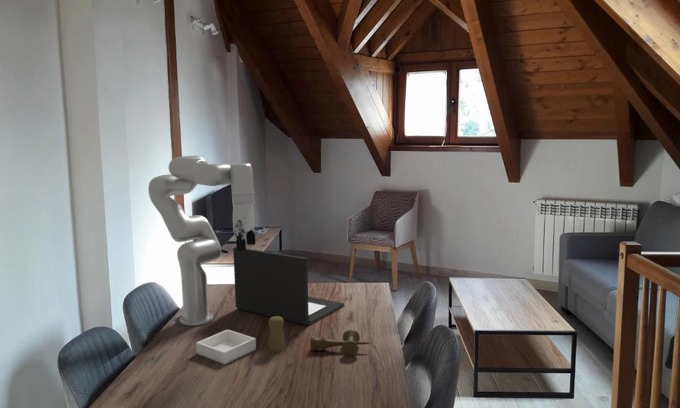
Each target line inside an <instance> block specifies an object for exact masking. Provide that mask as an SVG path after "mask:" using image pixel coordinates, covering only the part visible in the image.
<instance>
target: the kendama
mask: <svg viewBox="0 0 680 408" xmlns="http://www.w3.org/2000/svg"><path fill="white" fill-rule="evenodd" d="M360 339H361V337H360V334H359V332H358V331H357V330H354V329H347V330H346V331H344V332H343V334H342V340H343V341H342V340H335V339H329V338H327V337H325V336H323V337H316V336H315V335H312V336H311V337H310V342H309V343H310V345H309V347H310V350H311V352H315V351H316V350H323V351H325V350H327V349H329V348H335V347H340V346H341V351H342V354H343V355H344V356H346V357H355V356H357V354H358V353H359V345H360V346H362V345H370V342H368V341H360Z"/></svg>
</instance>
